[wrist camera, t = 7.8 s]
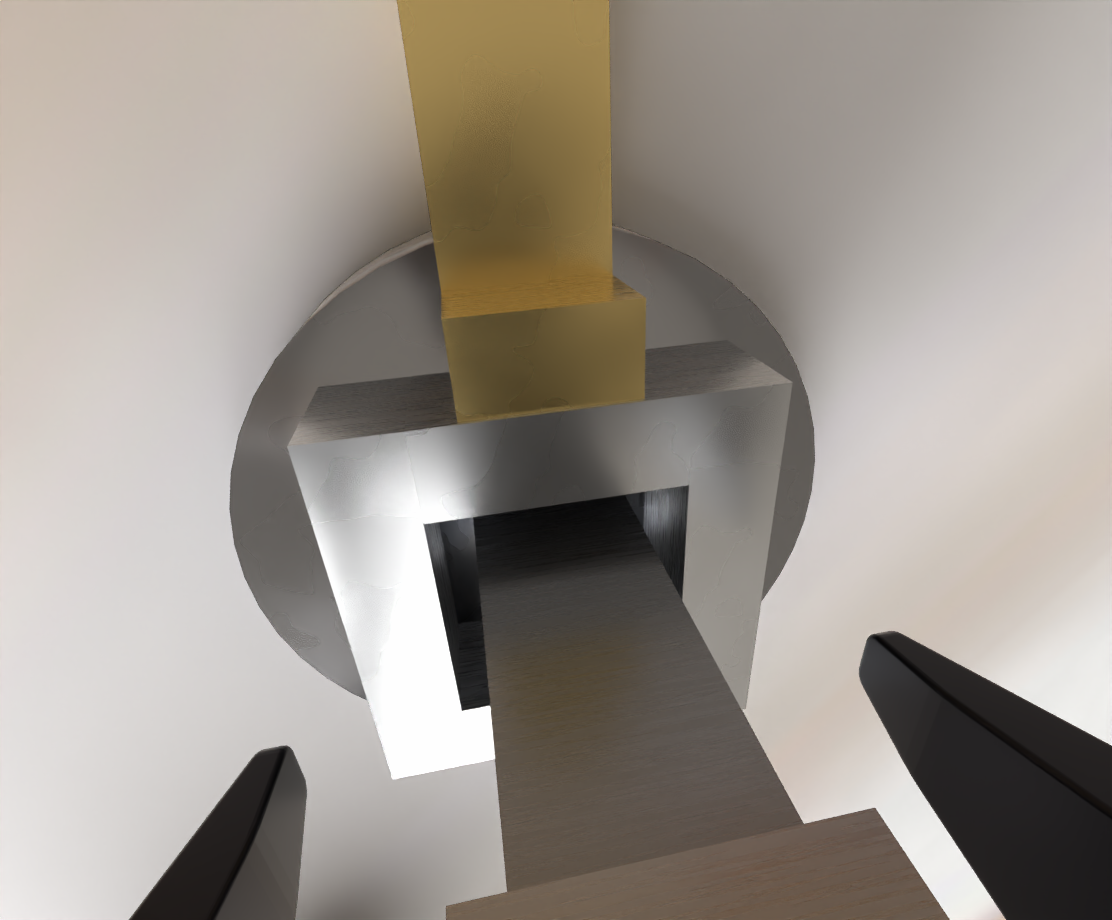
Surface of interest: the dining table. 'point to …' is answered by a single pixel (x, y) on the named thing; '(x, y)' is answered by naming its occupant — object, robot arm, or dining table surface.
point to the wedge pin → (643, 750)
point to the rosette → (510, 393)
